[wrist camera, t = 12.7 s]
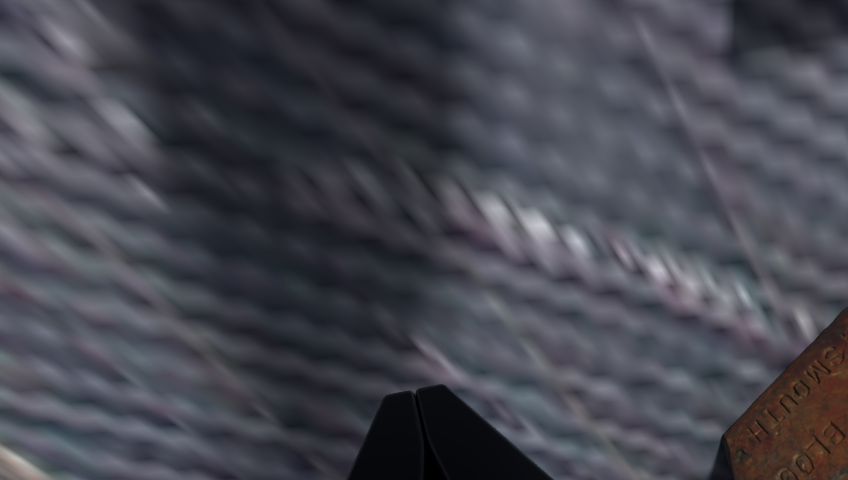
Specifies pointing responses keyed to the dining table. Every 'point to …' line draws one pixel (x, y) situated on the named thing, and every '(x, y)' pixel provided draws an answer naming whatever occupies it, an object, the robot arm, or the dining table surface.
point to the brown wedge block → (798, 418)
